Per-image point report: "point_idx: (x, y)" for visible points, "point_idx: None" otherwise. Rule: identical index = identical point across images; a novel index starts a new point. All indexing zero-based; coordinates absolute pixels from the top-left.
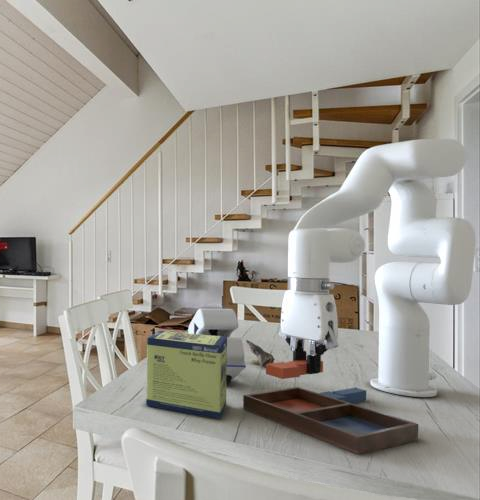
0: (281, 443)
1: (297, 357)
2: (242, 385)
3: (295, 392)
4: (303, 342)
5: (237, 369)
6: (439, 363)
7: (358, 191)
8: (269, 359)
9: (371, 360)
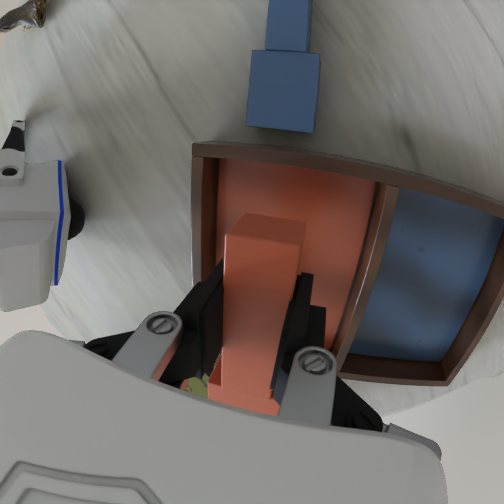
0: None
1: (217, 355)
2: (87, 169)
3: (208, 167)
4: (163, 367)
5: (66, 225)
6: None
7: None
8: (37, 8)
9: None
